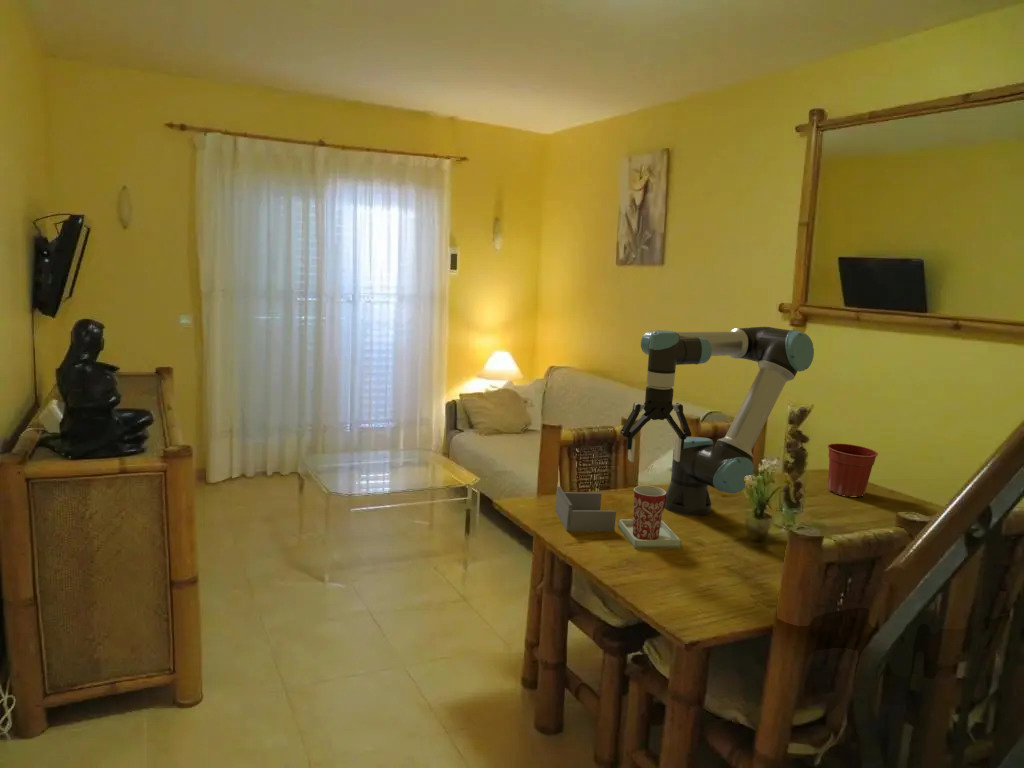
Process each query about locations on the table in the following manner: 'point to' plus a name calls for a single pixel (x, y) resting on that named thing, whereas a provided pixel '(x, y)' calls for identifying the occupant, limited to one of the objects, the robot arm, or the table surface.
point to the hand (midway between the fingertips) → (653, 460)
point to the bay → (583, 512)
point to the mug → (648, 511)
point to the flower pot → (849, 469)
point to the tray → (663, 541)
